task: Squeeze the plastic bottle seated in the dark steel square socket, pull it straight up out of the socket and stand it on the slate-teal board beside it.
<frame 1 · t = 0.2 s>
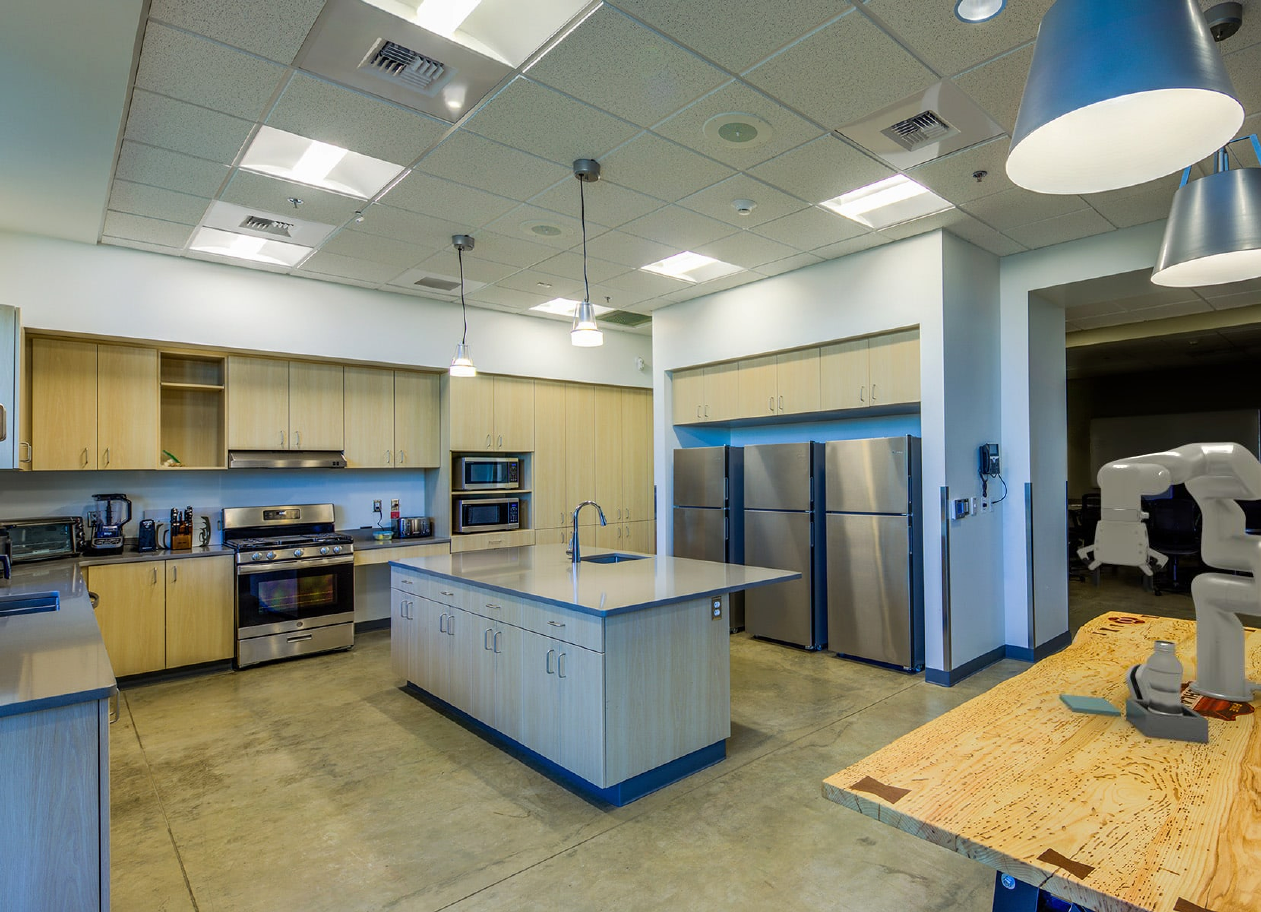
hand: (1121, 588, 155), 31 cm above the table, tool pointing down, fingers open, 9 cm apart
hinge: (1150, 701, 169), on the table
square socket: (1165, 731, 149), on the table
plastic bottle: (1165, 732, 149), resting in square socket
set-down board: (1089, 707, 163), on the table
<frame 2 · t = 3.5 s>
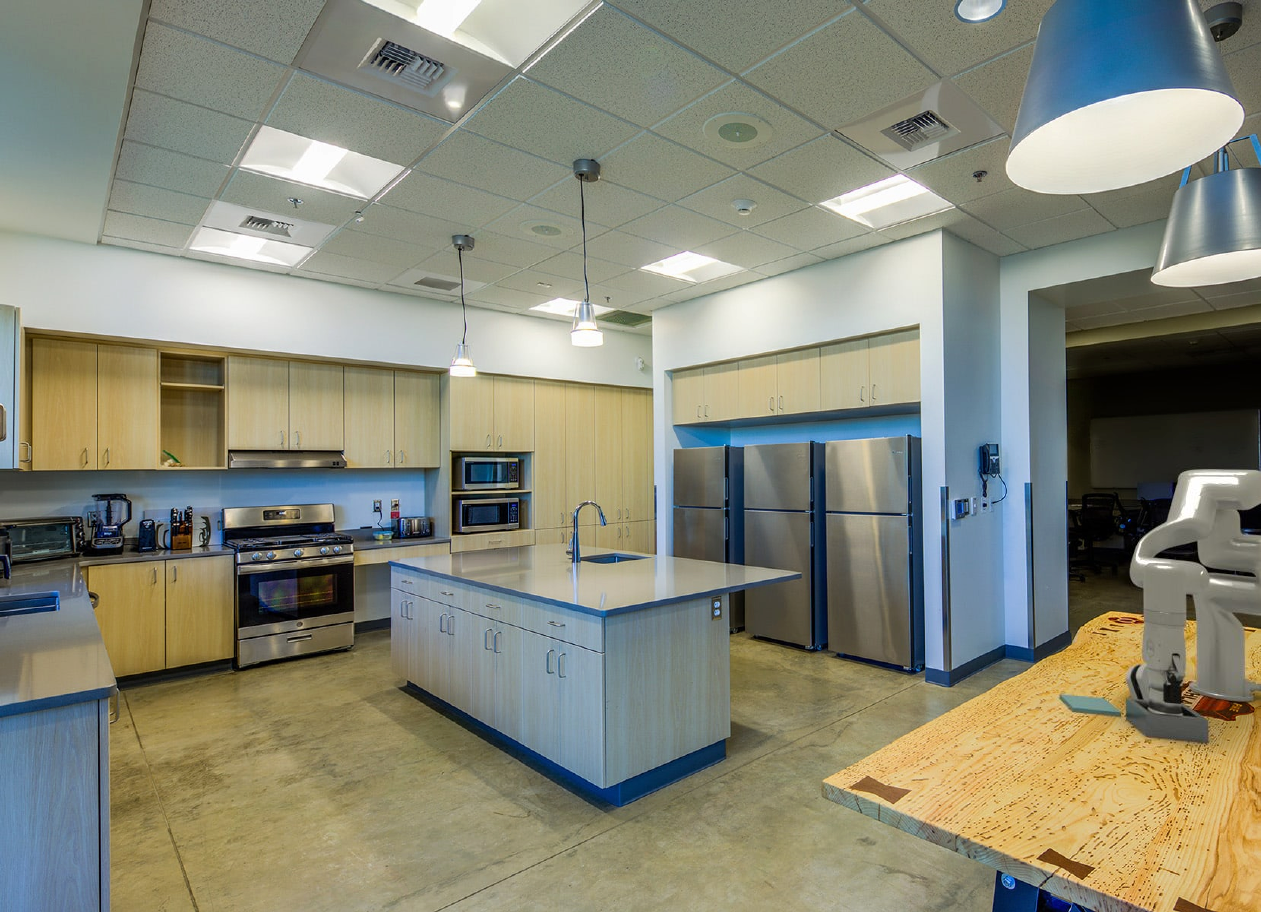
hand: (1165, 697, 149), 8 cm above the table, tool pointing down, fingers closed on plastic bottle, 6 cm apart
plastic bottle: (1165, 731, 149), resting in square socket, touching gripper
everything else where it was.
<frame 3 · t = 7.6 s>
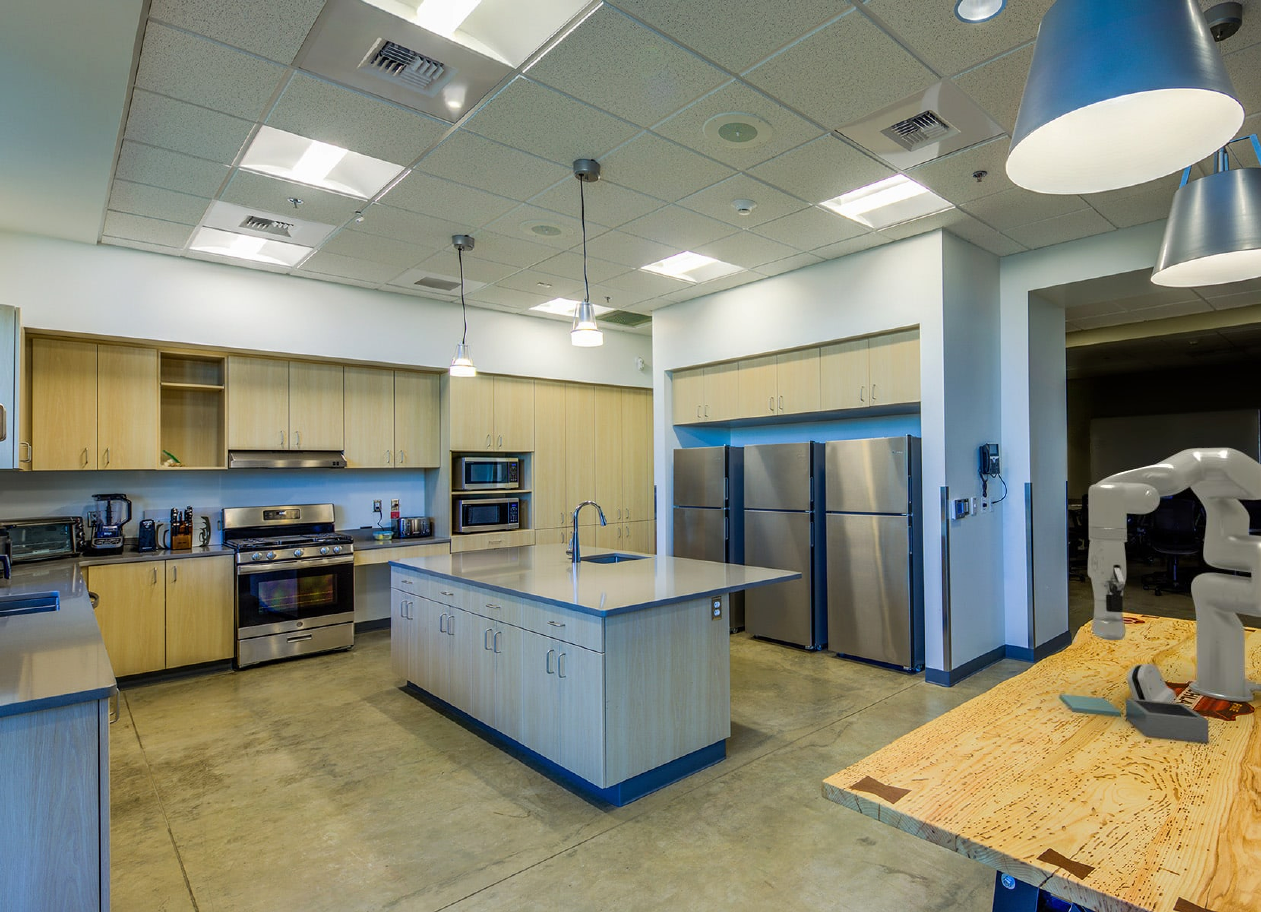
hand: (1108, 608, 160), 25 cm above the table, tool pointing down, fingers closed on plastic bottle, 6 cm apart
plastic bottle: (1108, 640, 160), point 18 cm above the table, touching gripper
everything else where it was.
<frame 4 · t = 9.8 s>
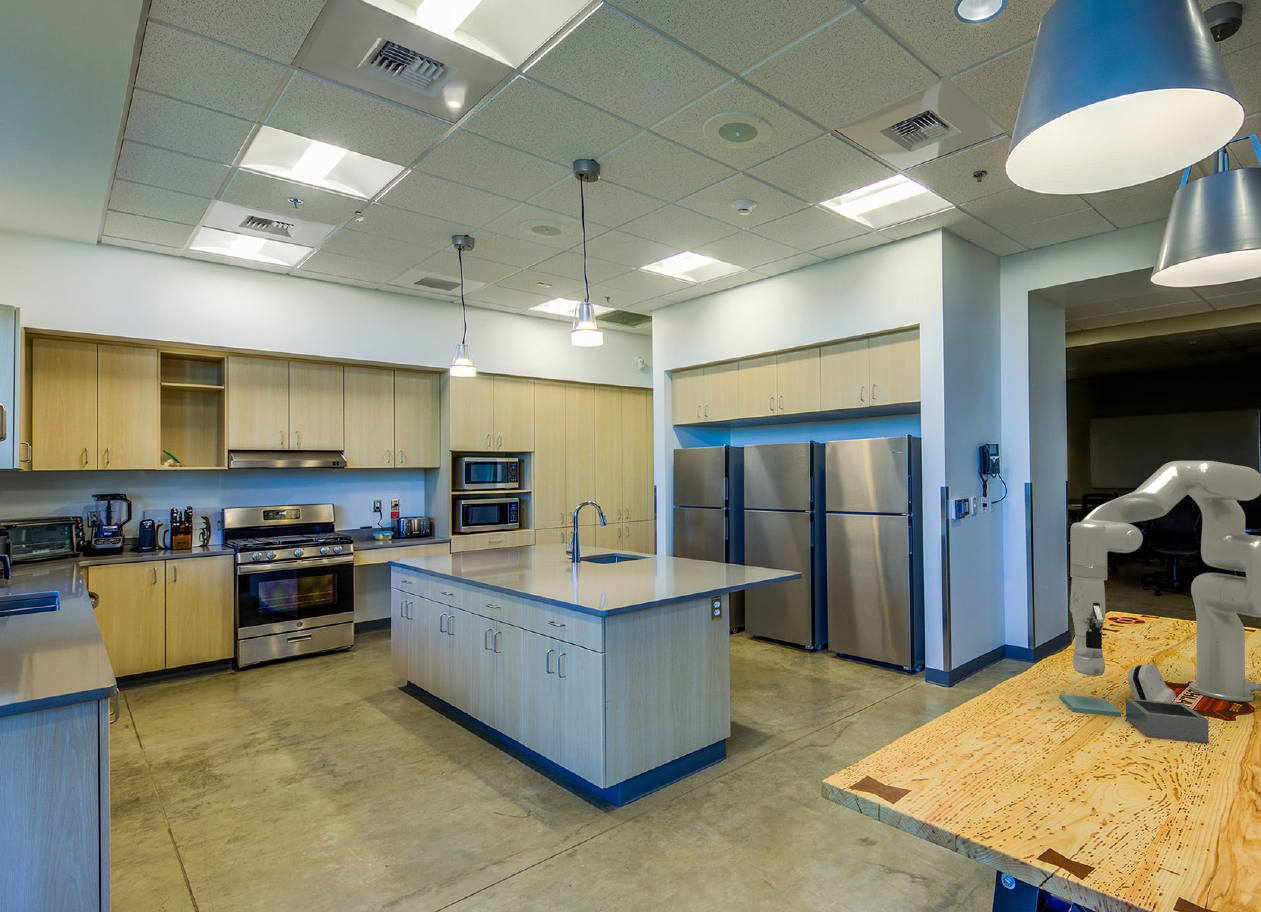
hand: (1088, 644, 164), 16 cm above the table, tool pointing down, fingers closed on plastic bottle, 6 cm apart
plastic bottle: (1088, 675, 163), point 8 cm above the table, touching gripper
everything else where it was.
when the fingers open (10 cm above the table, at t = 11.8 s): plastic bottle drops 1 cm, resting on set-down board.
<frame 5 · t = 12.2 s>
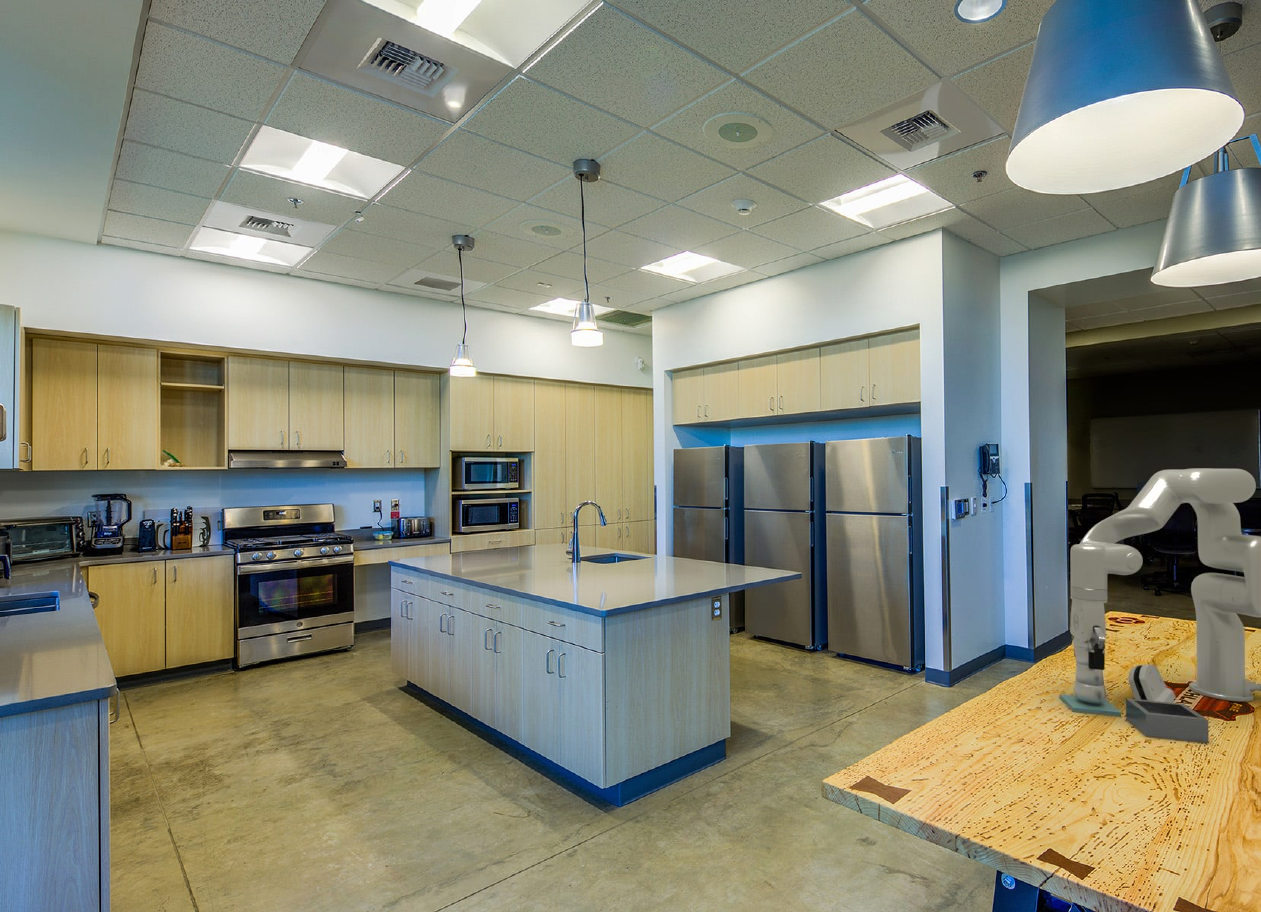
hand: (1089, 663, 163), 11 cm above the table, tool pointing down, fingers open, 9 cm apart
plastic bottle: (1089, 703, 163), point 1 cm above the table, touching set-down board
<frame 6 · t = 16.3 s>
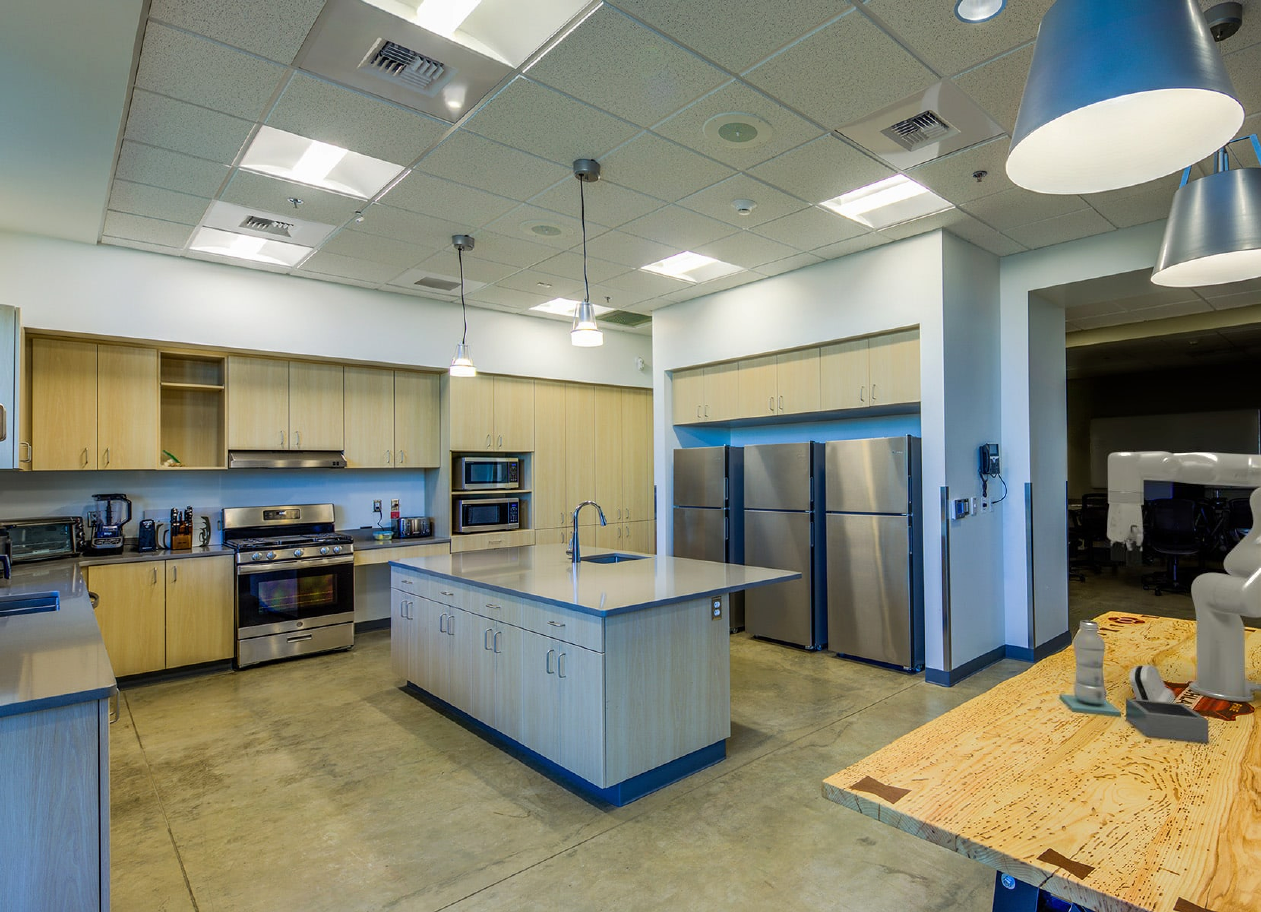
hand: (1125, 563, 173), 34 cm above the table, tool pointing down, fingers open, 9 cm apart
at the end: plastic bottle inside the target area on the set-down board (0.2 cm from its centre), point 0.8 cm above the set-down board's base; plastic bottle tilted 0°; plastic bottle touching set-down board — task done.
